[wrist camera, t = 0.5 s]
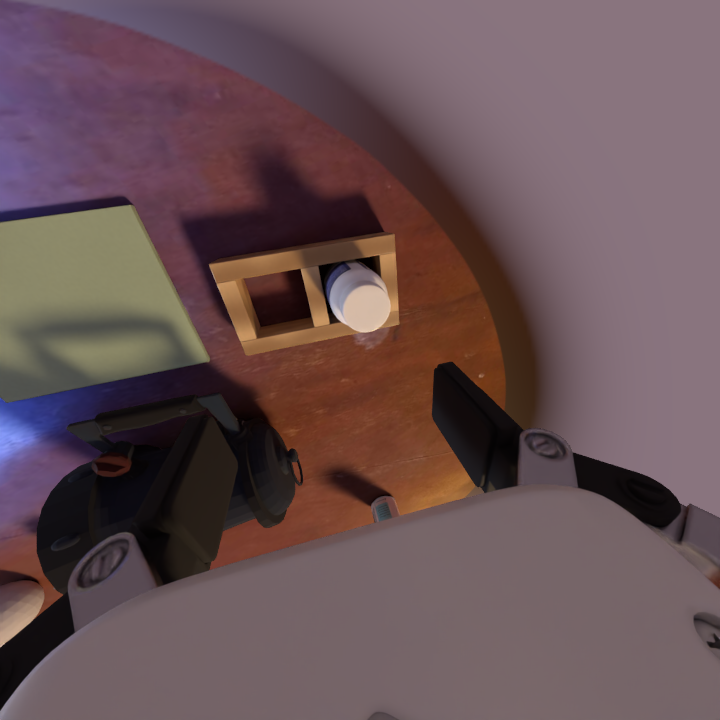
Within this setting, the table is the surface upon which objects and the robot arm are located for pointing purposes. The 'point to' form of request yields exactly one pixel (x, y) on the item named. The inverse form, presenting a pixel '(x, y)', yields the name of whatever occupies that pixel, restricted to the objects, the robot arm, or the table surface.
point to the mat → (86, 304)
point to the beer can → (384, 508)
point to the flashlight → (139, 470)
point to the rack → (307, 259)
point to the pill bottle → (357, 295)
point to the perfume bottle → (18, 606)
